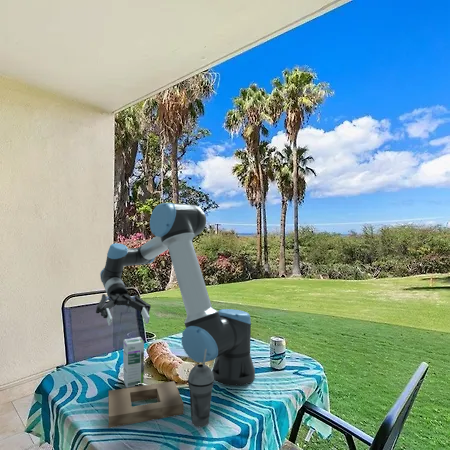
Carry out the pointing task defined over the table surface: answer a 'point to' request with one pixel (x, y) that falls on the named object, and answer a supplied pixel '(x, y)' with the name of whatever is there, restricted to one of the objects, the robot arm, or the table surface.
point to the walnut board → (165, 406)
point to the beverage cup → (200, 393)
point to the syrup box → (133, 361)
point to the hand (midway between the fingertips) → (129, 321)
